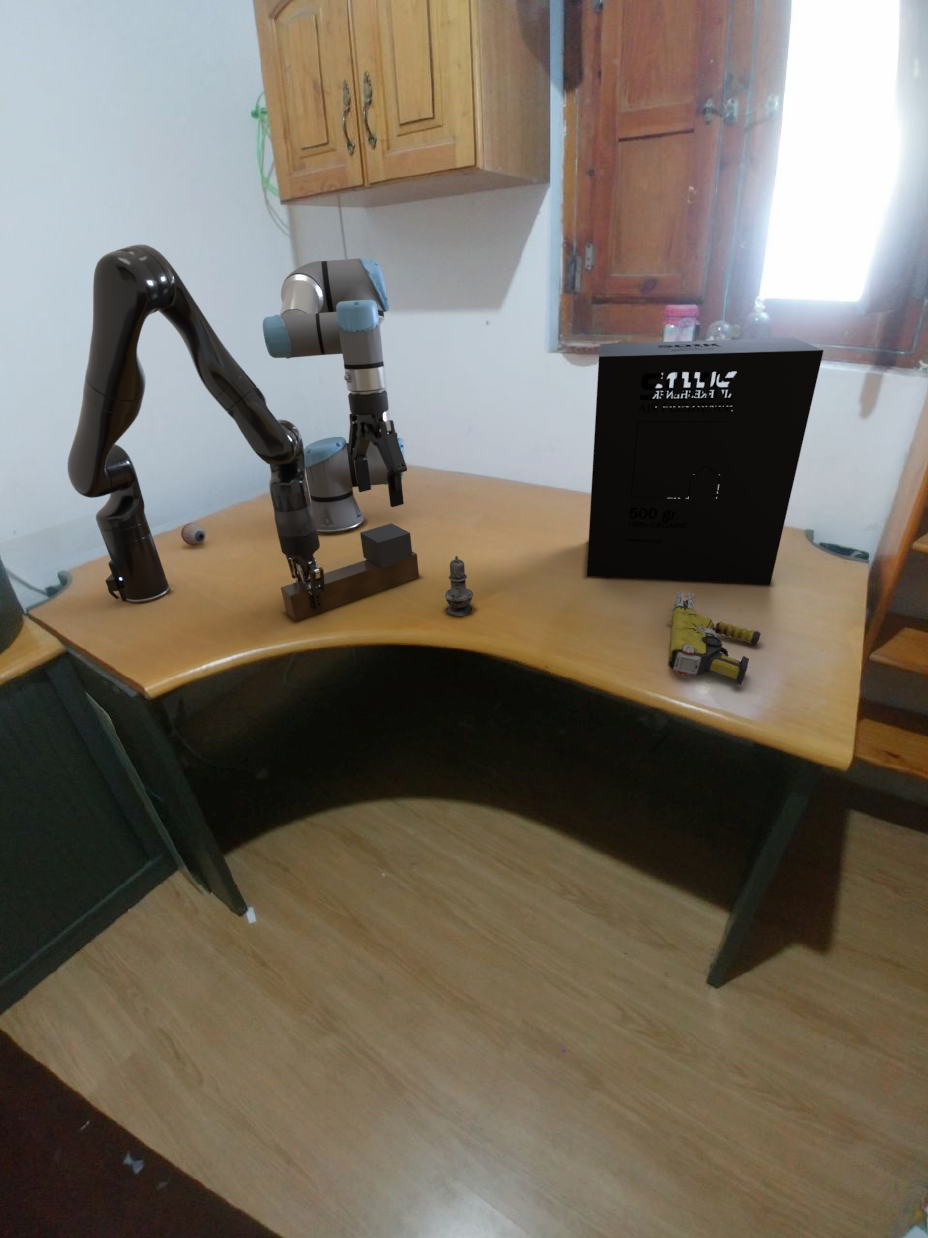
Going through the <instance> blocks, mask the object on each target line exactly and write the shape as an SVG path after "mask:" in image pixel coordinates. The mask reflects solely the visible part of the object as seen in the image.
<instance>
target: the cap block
mask: <svg viewBox="0 0 928 1238" xmlns="http://www.w3.org/2000/svg"><path fill="white" fill-rule="evenodd" d="M359 536H360V543H361V550H362V557H363V559H365V560H368V561H370V562H372V563H373V564H375V565H376V566H378V567H379V568H381V569H382V568H385V567H388V566H391V565H394V564H397V563H400V562H403V561H406V560H409V559H412V558H413V555H412V551H413V547H412V536H411V532H409V531H408V530H405V529H403V528H402V527H399V526H398V525H396V524H394V523H391V522H390V523H387V524H384V525H380V526H377V527H374V528H370V529H367V530H364V531H363V530H362V531H361V532H359Z"/></svg>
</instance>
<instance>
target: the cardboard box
mask: <svg viewBox="0 0 928 1238" xmlns="http://www.w3.org/2000/svg"><path fill="white" fill-rule="evenodd" d="M598 353H599V354H598V363H597V364H598V367H597V383H596V385H597V386H596V387H597V388H596V403H595V417H594V418H595V419H594V438H593V456H592V473H591V490H590V491H591V492H590V508H589V527H588V543H587V545H588V546H587V561H586V577H587V578H608V579H609V578H610V579H628V580H629V579H630V580H631V579H632V580H633V579H634V580H653V581H654V580H655V581H676V582H677V581H678V582H697V583H698V582H700V583H723V584H744V585H745V584H746V585H765V586H767V585H768V586H771V584H772V579H773V575H774V571H775V566H776V560H777V557H778V553H779V549H780V543H781V539H782V535H783V530H784V526H785V522H786V518H787V513H788V509H789V506H790V505H789V504H790V500H791V495H792V492H793V486H794V482H795V478H796V475H797V474H796V473H797V469H798V466H799V460H800V456H801V451H802V446H803V442H804V438H805V434H806V431H807V427H808V426H807V425H808V421H809V416H810V412H811V407H812V403H813V398H814V394H815V390H816V386H817V381H818V377H819V372H820V369H821V363H822V359H823V355H824V349H822V348H819V347H817V346H815V345H812V344H811V343H808V342H805V341H802V340H800V339H798V338H795V337H777V338H776V337H775V338H772V337H771V338H746V339H745V338H743V339H739V338H738V339H713V340H709V339H708V340H683V341H682V340H681V341H679V340H678V341H651V342H649V341H648V342H647V341H646V342H621V343H619V342H618V343H600V344H599V352H598ZM732 372H733V373H734V372H735V373H734V375H733V376H732V377H727V376H728V375H729V373H732ZM674 373H676V377H675V378H673V384H672V387H670V384H671V378H670V377H669V376H670V374H674ZM683 373H688V376H687V383H690V384H689V387H685V382H686V381H685V378H684V377H683ZM696 373H699V378H698V377H696ZM713 373H715V376H714V382H713V383H712V379H713ZM668 377H669V378H668ZM717 381H718V383H719V384H721V383H728V384H727V386H719V385H718V383H717ZM698 382H699V383H700V384H701V383H702V384H703V387H701V386H700V387H699V386H698ZM657 385H660V386H661V387H657ZM697 386H698V387H697Z"/></svg>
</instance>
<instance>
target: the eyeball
mask: <svg viewBox="0 0 928 1238" xmlns="http://www.w3.org/2000/svg"><path fill="white" fill-rule="evenodd" d="M180 536H181V539H182V540H183V542H184V543H185V544H187V545H188V546H191V547H195V546H200V545H201V544H203V543H204V541H206V537H207V533H206V530H205V528H204V527H203V526H202V525H201V524H198V523H197V522H189V523H187V524H185V525H184V526H183V527H182V528H181V532H180Z"/></svg>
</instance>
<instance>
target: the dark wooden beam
mask: <svg viewBox="0 0 928 1238" xmlns="http://www.w3.org/2000/svg"><path fill="white" fill-rule="evenodd" d="M412 555H413V558H412V559H409V560H406V561H403V562H400V563H397V564H394V565H391V566H388V567H385V568H382V569H381V568H379V567H378V566H376V565H375V564H373V563H372V562H370V561H368V560H367V559H365V560H362V561H358V562H355V563H353V564H350V565H346V566H343V567H340V568H336V569H333V570H331V571H328V572H324V583H325V592H323V593H321V598H322V603H323V608H321V609H319V610H316V611H314V610H313V609H312V606H311V601H310V596H309V593H308V589H307V586H306V585H305V584H303V582H302V581H299V582H296V581H295V582H293V583H290V584H288V585H284V586H281V587H280V591H281V596H282V600H283V605H284V608H285V613H286V614H287V615H288V617H290V618H291V619H292V620H293V621H294V622H299V621H301V620H305V619H308V618H310V617H313V616H315V615H319V614H321V613H322V614H323V613H324V612H327V611H329V610H334V609H336V608H339V607H341V606H344V605H346V604H349V603H352V602H354V601H358V600H361V599H364V598H366V597H368V596H369V597H370V596H372V595H375V594H378V593H380V592H381V593H382V592H384V591H386V590H389V589H392V588H395V587H397V586H401V585H403V584H405V583H408V582H411V581H414V580H418V579H419V578H420V573H419V572H420V571H419V562H418V553H416V552H415V551H413V550H412ZM309 579H310V577H309ZM307 580H308V579H307ZM310 585H311V583H310ZM316 587H317V586H316Z"/></svg>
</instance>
